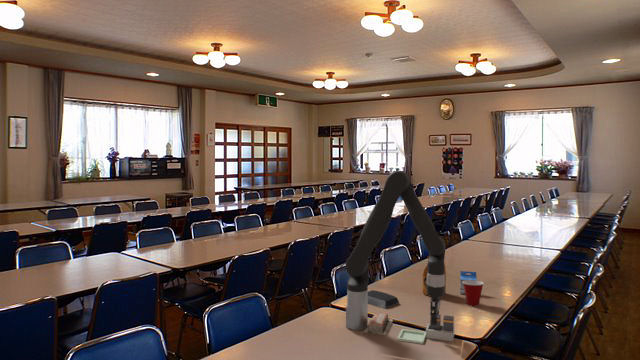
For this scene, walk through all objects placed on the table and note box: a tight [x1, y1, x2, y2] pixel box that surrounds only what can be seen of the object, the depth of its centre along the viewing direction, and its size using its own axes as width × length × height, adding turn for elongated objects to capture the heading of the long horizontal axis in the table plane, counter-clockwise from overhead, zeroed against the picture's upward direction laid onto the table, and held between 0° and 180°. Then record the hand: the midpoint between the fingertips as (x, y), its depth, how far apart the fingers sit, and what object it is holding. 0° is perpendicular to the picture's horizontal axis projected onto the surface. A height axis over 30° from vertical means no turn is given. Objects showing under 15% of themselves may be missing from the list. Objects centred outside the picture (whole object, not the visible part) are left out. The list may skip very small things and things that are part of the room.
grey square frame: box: [425, 314, 455, 342], centre depth 188 cm, size 11×8×9 cm
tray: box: [396, 328, 426, 345], centre depth 187 cm, size 11×11×2 cm
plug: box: [429, 314, 442, 331], centre depth 189 cm, size 4×4×8 cm
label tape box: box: [459, 270, 478, 295], centre depth 248 cm, size 9×4×12 cm, turn 73°
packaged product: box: [363, 312, 394, 336], centre depth 199 cm, size 18×5×10 cm
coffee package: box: [421, 255, 447, 298], centre depth 248 cm, size 10×12×22 cm
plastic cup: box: [462, 280, 485, 307], centre depth 230 cm, size 11×11×12 cm
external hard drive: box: [368, 289, 400, 309], centre depth 235 cm, size 13×19×4 cm
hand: (435, 321), depth 189 cm, fingers open, 8 cm apart
